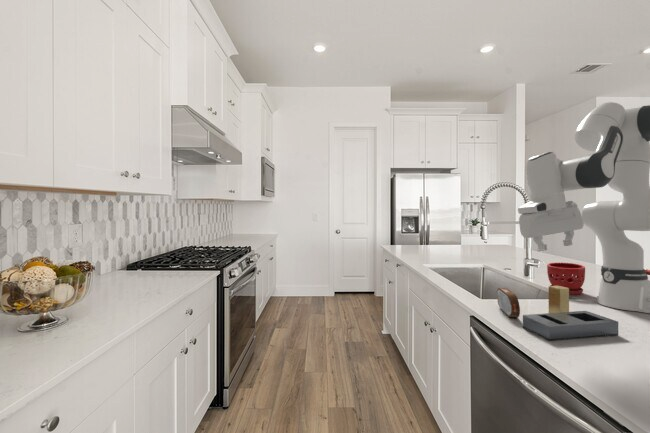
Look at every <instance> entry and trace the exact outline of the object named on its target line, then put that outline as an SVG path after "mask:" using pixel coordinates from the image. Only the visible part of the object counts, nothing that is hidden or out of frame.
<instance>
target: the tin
mask: <svg viewBox="0 0 650 433" xmlns="http://www.w3.org/2000/svg"><path fill="white" fill-rule="evenodd" d="M496 296H497V297H496V298H497V304H498V307H499V309H500V311H502V312H503V313H504V314H505V315H506V316H507V317H508V318H519V317H520V314H521V307H520V306H521V305H520V302H519V299H518V296H517V295H516V293H515V292H514V291H512V290H511V289H509V288H508V287H507V286H505V287H499V288H497V290H496Z"/></svg>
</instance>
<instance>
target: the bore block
mask: <svg viewBox="0 0 650 433" xmlns="http://www.w3.org/2000/svg"><path fill="white" fill-rule="evenodd" d="M522 329H525V330H527V331H528V332H531V333H533V334H534V335H537V336H539V337H541V338H543V339H545V340H547V341H548V342H554V341H555V342H556V341H564V340H577V339H578V340H579V339H590V338H591V339H592V338H603V337H605V338H606V337H616V336H619V321H617V320H616V319H615V320H614V319H611V318H608V317H605V316H603V315H600V314H597V313H593V312H591V311H588V310H578V311H577V310H576V311H569V312H560V313H549V312H547V313H532V314H522Z"/></svg>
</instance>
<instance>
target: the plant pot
mask: <svg viewBox="0 0 650 433" xmlns="http://www.w3.org/2000/svg"><path fill="white" fill-rule="evenodd" d="M546 269H547V270H546V271H547V272H546V274H547V278H548V281H549V283H550V285H549V286H562V287H566V288H569V296H571V295H573V296H574V295H575V296H576V295H580V294H582V293H583V292H584V289H583V285H584V283H585V280H586V279H585V278H586V266H584V265H582V264H579V263H572V262H550V263H547V265H546Z"/></svg>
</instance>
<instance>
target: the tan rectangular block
mask: <svg viewBox="0 0 650 433" xmlns="http://www.w3.org/2000/svg"><path fill="white" fill-rule="evenodd" d="M560 312H570V295H569V288H566V287H562V286H550V285H549V286H548V313H560Z"/></svg>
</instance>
